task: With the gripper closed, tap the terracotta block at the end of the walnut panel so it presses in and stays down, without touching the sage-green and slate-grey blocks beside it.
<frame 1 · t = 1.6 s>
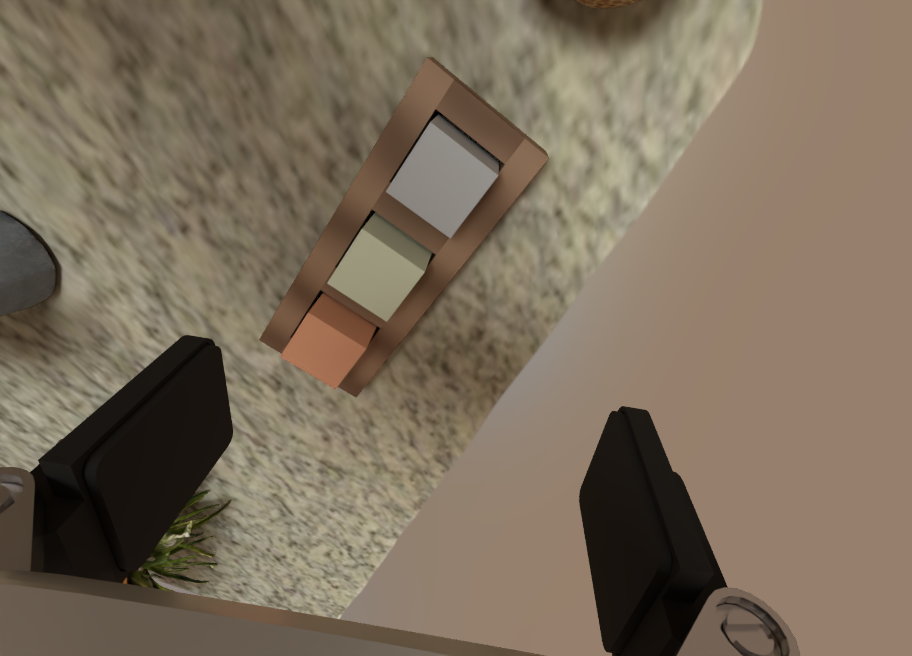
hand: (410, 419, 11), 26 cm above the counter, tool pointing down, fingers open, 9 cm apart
sage button: (381, 266, 34), point 4 cm above the counter, slide at 0.0 cm
slate button: (444, 176, 30), point 4 cm above the counter, slide at 0.0 cm
moka pot: (14, 253, 40), on the counter
terracotta button: (330, 339, 38), point 3 cm above the counter, slide at 0.0 cm
walnut panel: (391, 249, 37), on the counter
potted plant: (162, 489, 55), on the counter
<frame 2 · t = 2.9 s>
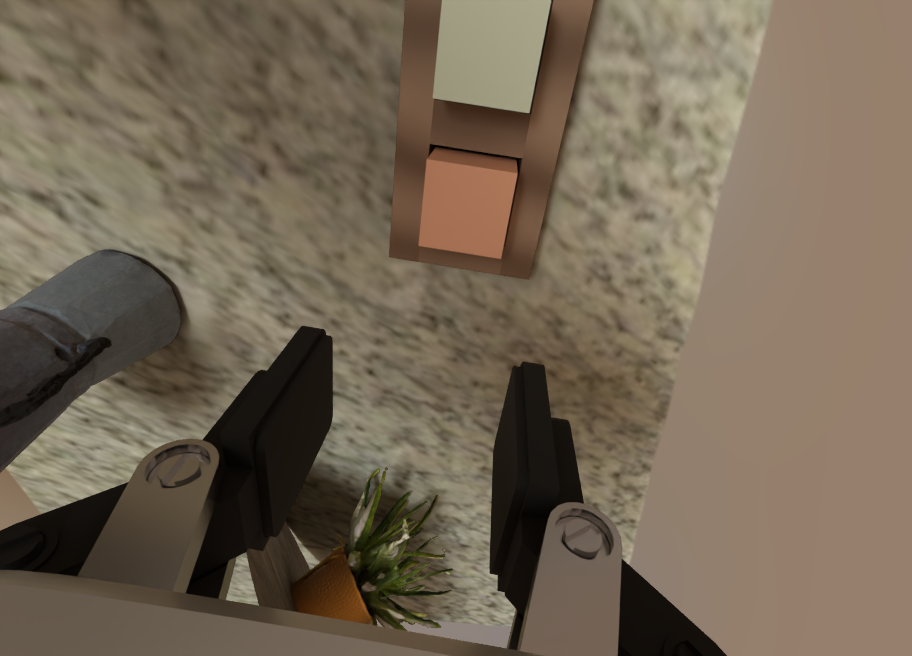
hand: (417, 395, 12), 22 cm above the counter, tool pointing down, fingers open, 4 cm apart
sage button: (490, 49, 24), point 4 cm above the counter, slide at 0.0 cm
moka pot: (135, 294, 38), on the counter
terracotta button: (468, 202, 28), point 3 cm above the counter, slide at 0.0 cm
walnut panel: (491, 50, 27), on the counter
potted plant: (366, 509, 49), on the counter
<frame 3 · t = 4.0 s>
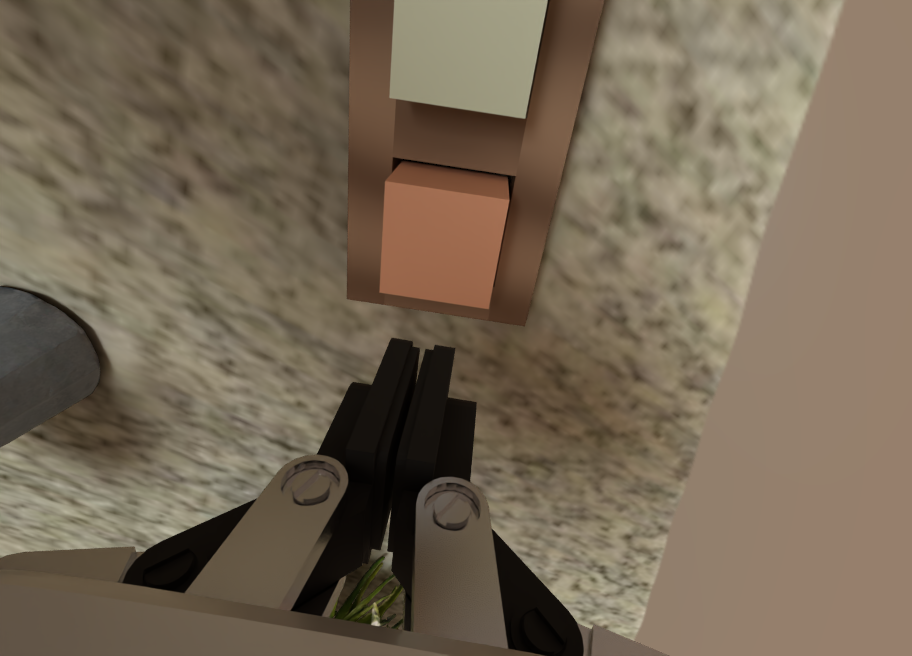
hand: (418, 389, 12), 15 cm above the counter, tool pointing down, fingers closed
sage button: (470, 29, 17), point 3 cm above the counter, slide at 0.0 cm
moka pot: (43, 337, 31), on the counter
terracotta button: (444, 233, 22), point 3 cm above the counter, slide at 0.0 cm
walnut panel: (474, 32, 20), on the counter
potted plant: (335, 571, 43), on the counter
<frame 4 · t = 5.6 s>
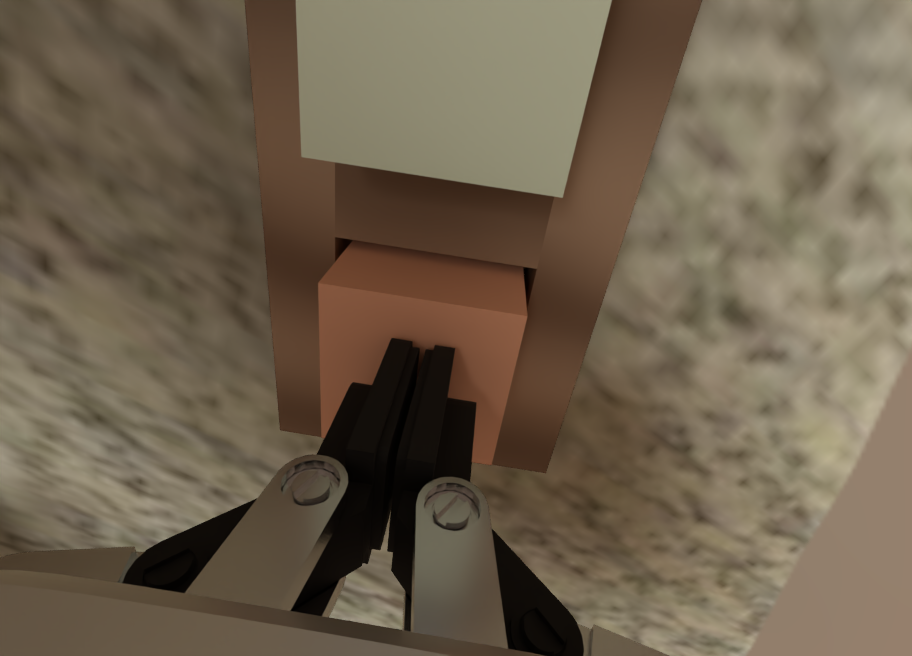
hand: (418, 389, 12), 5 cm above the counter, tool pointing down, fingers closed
sage button: (458, 26, 9), point 3 cm above the counter, slide at 0.0 cm
terracotta button: (424, 343, 14), point 3 cm above the counter, slide at -0.8 cm, touching gripper
walnut panel: (469, 34, 12), on the counter
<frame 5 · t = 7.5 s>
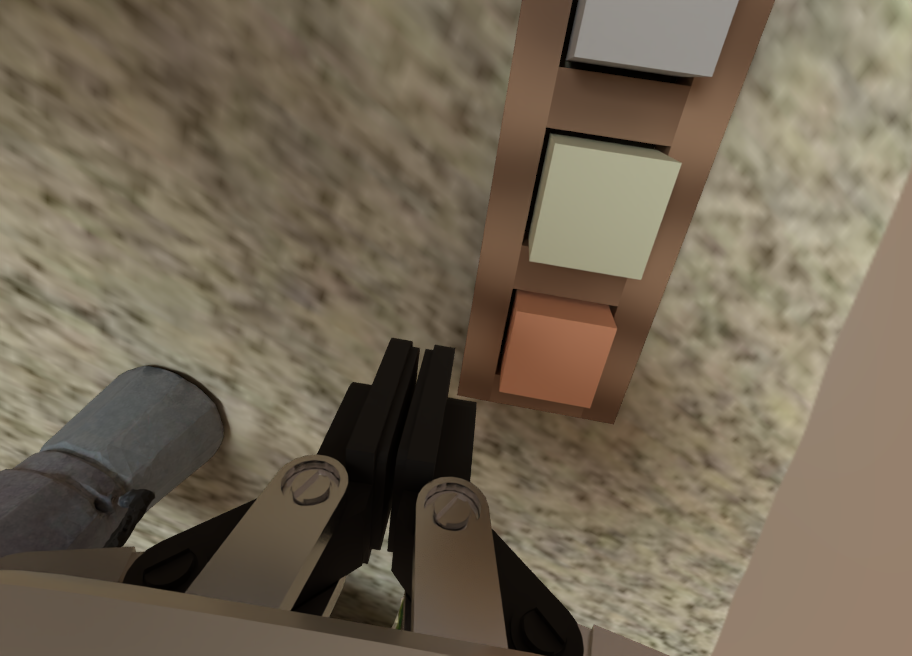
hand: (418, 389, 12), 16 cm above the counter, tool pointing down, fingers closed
sage button: (594, 204, 21), point 3 cm above the counter, slide at 0.0 cm
moka pot: (176, 407, 36), on the counter
terracotta button: (552, 342, 26), point 3 cm above the counter, slide at -0.9 cm
walnut panel: (585, 188, 24), on the counter
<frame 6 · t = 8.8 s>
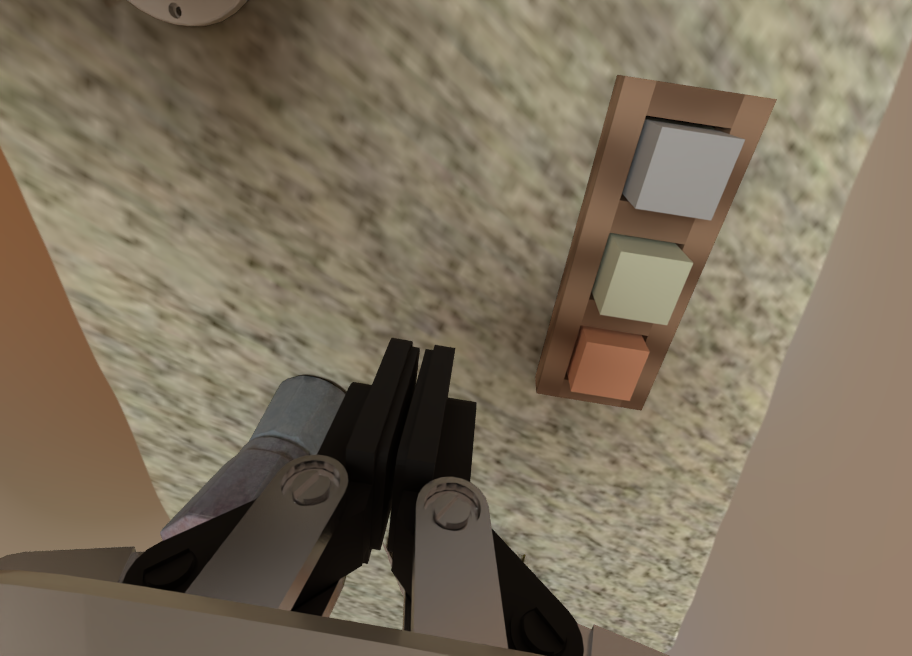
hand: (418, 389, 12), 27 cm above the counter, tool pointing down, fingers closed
sage button: (638, 278, 35), point 3 cm above the counter, slide at 0.0 cm
slate button: (677, 169, 31), point 3 cm above the counter, slide at 0.0 cm
moka pot: (318, 404, 49), on the counter
terracotta button: (604, 358, 40), point 3 cm above the counter, slide at -0.9 cm
walnut panel: (627, 260, 38), on the counter
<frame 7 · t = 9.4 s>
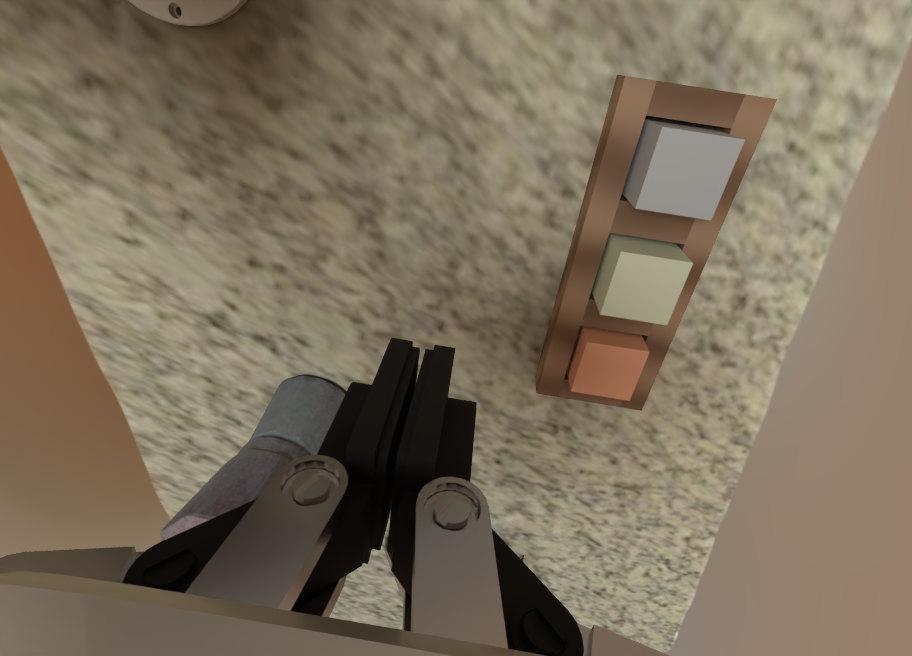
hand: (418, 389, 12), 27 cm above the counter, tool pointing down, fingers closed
sage button: (638, 278, 35), point 3 cm above the counter, slide at 0.0 cm
slate button: (677, 169, 31), point 3 cm above the counter, slide at 0.0 cm
moka pot: (318, 404, 49), on the counter
terracotta button: (604, 358, 40), point 3 cm above the counter, slide at -0.9 cm
walnut panel: (627, 260, 38), on the counter
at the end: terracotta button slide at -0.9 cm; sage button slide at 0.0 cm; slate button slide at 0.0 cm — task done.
